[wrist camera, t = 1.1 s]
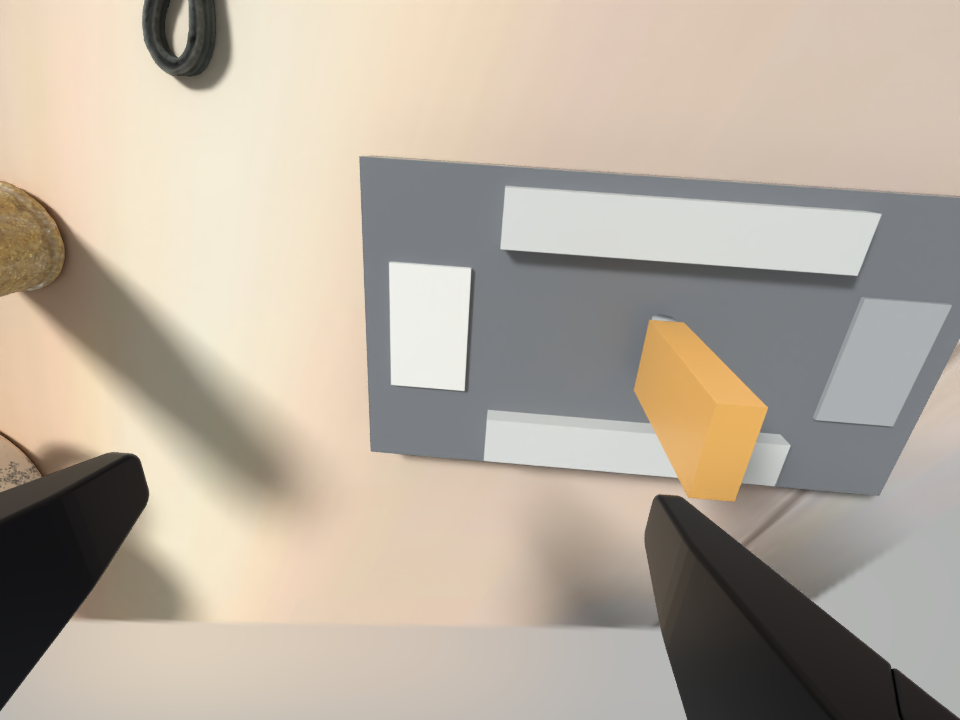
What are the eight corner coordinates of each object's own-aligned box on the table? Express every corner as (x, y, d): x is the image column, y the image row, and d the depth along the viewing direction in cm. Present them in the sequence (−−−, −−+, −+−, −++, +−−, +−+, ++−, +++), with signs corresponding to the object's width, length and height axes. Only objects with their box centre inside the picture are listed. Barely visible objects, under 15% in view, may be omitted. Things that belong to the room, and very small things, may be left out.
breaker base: (984, 198, 17) (1054, 205, 15) (854, 472, 22) (892, 508, 20) (372, 155, 18) (352, 156, 15) (379, 431, 22) (365, 462, 20)
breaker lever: (677, 315, 17) (768, 408, 11) (660, 384, 18) (734, 501, 12) (644, 313, 17) (716, 403, 11) (629, 382, 18) (688, 497, 12)
